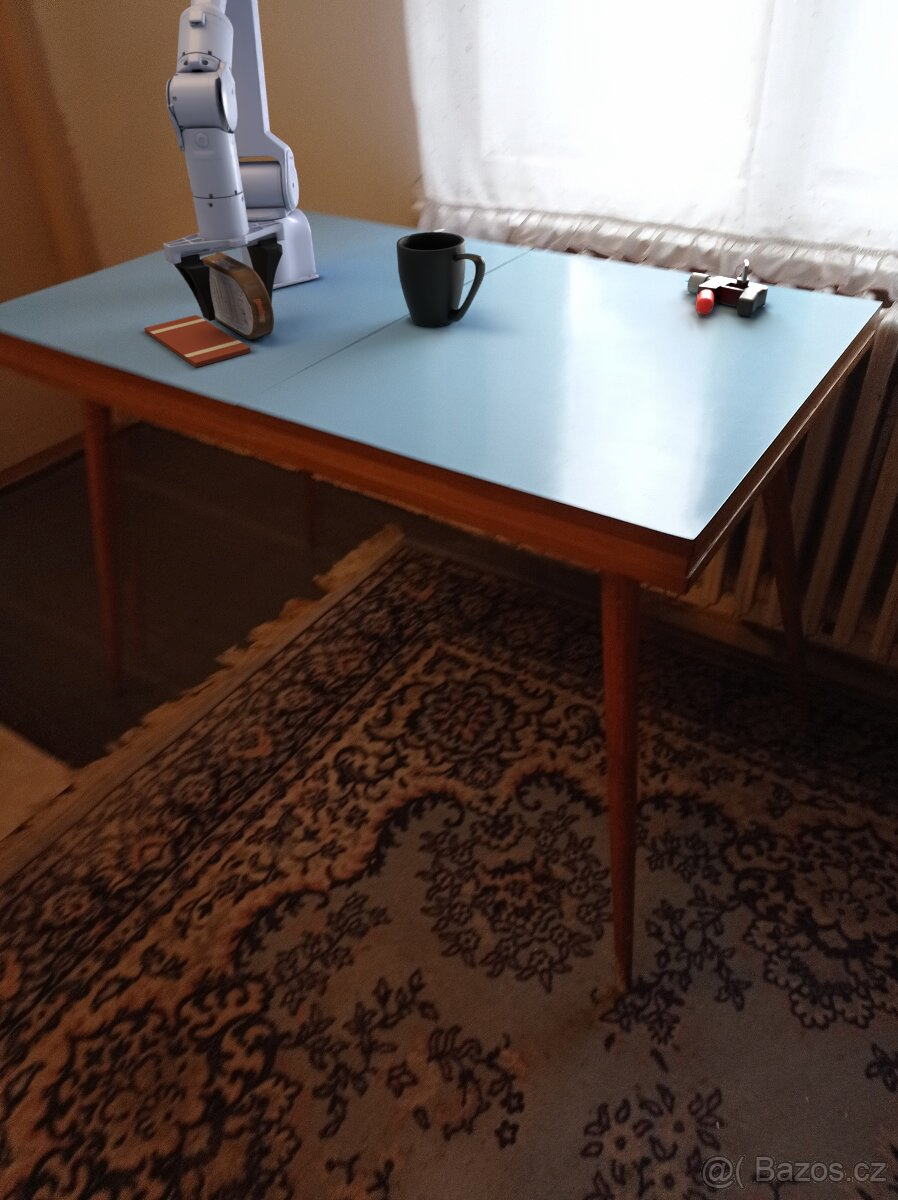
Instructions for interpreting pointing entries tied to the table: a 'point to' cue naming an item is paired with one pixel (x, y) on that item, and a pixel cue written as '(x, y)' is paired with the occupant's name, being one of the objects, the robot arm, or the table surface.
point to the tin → (239, 297)
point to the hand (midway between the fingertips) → (237, 311)
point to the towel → (197, 340)
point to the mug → (436, 277)
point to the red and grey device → (727, 292)
